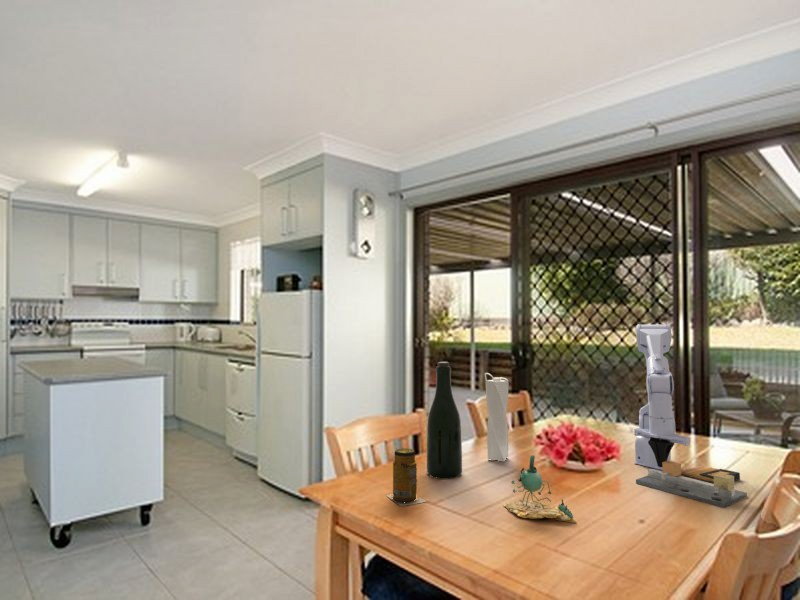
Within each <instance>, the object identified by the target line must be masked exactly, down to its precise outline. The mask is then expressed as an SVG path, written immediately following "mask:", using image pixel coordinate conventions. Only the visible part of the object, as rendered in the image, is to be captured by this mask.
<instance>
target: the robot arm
mask: <svg viewBox="0 0 800 600" xmlns="http://www.w3.org/2000/svg"><path fill="white" fill-rule="evenodd" d="M635 328H636V330H635V331H636V332H635V333H636V334H635V335H636V347H637V351H638V352H639V353H643V356H644V357H645V361H646V383H645V384H646V392H647V403H646V404H645V405H643V406H642V407H640V409H639V411H638V414H639V415H638V426H639V427H637V428H634V433H633V435H634V436H635V437H636V438H635V443H634V448H635V452H634V453H635V455H634V456H635V457H634V458H635V461H634V462H633V463H634V464H636V465H640V466H643V467H648V468H650V469H655V470H659V471H663V465H662V462H665V461H668V460H671V461H672V457H671V456H672V455H671V451H672V449H673V447H674V446H675V444H678V445H683V446H690V445H691V437H690V436H683V435H680V434H676V421H675V413H674V411H673V403H672V402H673V401H672V400H673V399H672V397H673V395H674V387H675V386H674V378H673V374H672V372H671V371H670V365H669V360H668V358H667V357H665V356H664V354H666V353H668V352H669V351H670V349H671V343H672V326H671V325H670V324H669V323H667V324H641V323H639V324H637V325H636V327H635ZM670 393H671V394H670Z"/></svg>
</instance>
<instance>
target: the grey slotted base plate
mask: <svg viewBox="0 0 800 600" xmlns="http://www.w3.org/2000/svg"><path fill="white" fill-rule="evenodd" d="M661 474H663V470H659V469H655V468H649V469H647V475H645V476H642V477H639V478H637V479H635V484H638V485H641V486H645V487H648V488H650V489H651V488H652V489H655V490H659V491H662V492H665V493H666V492H667V493H670V494H674V495H676V496H677V495H678V496H681V497H684V498H687V499H692V500H695V501H698V502H702V503H706V504H708V505H713V506H716V507H720V508H727V507H729V506H730V505H732V504H735V503H737V502H739V501H741V500H742V499H743V500H744V499H745V498H747V497H748V492H745V491H741V490H738V489H735V481H734V476H732V475H727V474H723V473H719V474H716V475H714V484H712V483H708V482H704V481H700V480H699V479H695V478H692V477H689V476H687V477H686V476H684V475H677V476H671V475H668V476H665V481H662V476H661Z"/></svg>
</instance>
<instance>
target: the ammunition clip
mask: <svg viewBox="0 0 800 600" xmlns="http://www.w3.org/2000/svg"><path fill="white" fill-rule="evenodd" d="M719 473H723V474H727V475H732V476H734V482H736V481H740V480H741V474H740V472H737V471H733V470H728V469H723V468H715V467H710V466H709V467H707V466H701V465H700V466H692V467H689V468H685V469H681V474H680V475H682V476H685V477H686V476H687V477H688V478H692V479H696V480H700V481H704V482H708V483H712V484H714V475H716V474H719Z"/></svg>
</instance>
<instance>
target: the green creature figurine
mask: <svg viewBox="0 0 800 600" xmlns="http://www.w3.org/2000/svg"><path fill="white" fill-rule="evenodd" d="M535 459H536V456H535V455H534V454H533V455H530V457H529V466H528V467H529V468H526V470H525V468H524V467H522V468H521V470H520V473H519V475H520V476H519V478H518V479H517V481H518V482H520V483H521V485H520V486H518V485H517V484H516V483H515V480H511V484H514V485H515V486H516V487H517V489H521V488H522V487H523V489H522V490H519V493H520V492H524V495H523V499H522V500H521V499H519V500H518V501H519V502H513V503H512V502H508V503H505V504H502V505H503V506H502V507H504V508H506V509H507V510H508V512H510V513H513V514H515V515H516V516H517V517H520V518H524V519H533V520H535V519H543V518H547V519H550V518H551V519H553V518H554V519H555V520H557V521H559V522H560V521H561V522H562V521H563V522H565V523H574V524H575V523H577V521H576V519H574V516H573V512H571V511H570V508H568V505H565V503H564V499H563V498H562V499H561V503H559V504H558V506H555V505H552V504H549V503H543V502H540V501H543V500H548V501H549V502H550V503H551V502H552V500H550V499H549V497H544V498H540V499H539V498H537V497H538V496H536V495H535V494H534V493H535V492H537V493H538V495H539V496H540V495H542V492H543V489H544V488H545V485H544V483H547V487H548V492H547V494H549V495H551V494H552V492H551V488H550V484H549V482H548V481H546V480H543V478H542V475H541V474H540V473H539V472H538V469H537V467H536V466H535ZM543 482H544V483H543ZM542 486H543V487H542ZM525 490H526V491H525ZM512 493H516V490H515V488H513V490H512ZM527 493H528V495H527V498H526V500H525V496H526V494H527ZM529 497H531V500H529ZM533 497H534V498H535V499H536V501H534V499H533Z"/></svg>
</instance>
